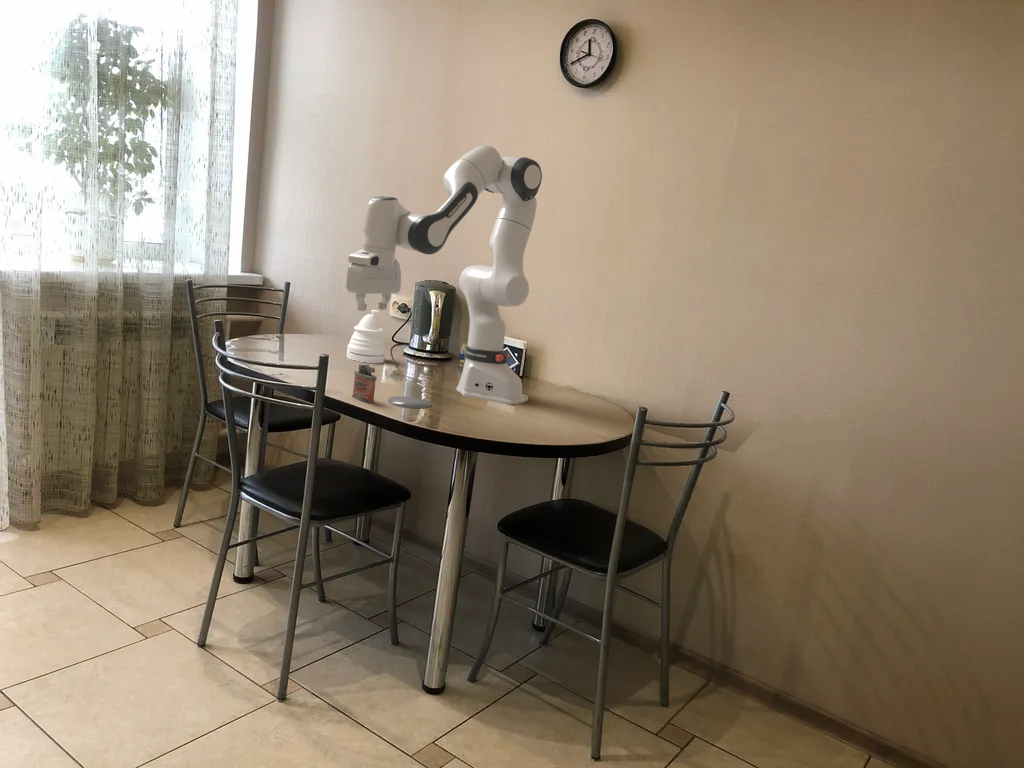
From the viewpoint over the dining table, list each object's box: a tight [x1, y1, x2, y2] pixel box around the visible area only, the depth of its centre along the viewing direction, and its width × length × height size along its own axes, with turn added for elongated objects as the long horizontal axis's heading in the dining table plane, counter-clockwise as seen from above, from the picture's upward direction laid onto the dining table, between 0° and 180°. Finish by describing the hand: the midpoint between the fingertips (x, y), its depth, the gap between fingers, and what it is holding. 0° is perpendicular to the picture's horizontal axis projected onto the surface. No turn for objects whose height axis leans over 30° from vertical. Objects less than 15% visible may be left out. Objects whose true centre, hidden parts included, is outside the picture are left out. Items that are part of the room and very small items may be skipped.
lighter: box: [351, 363, 378, 404], centre depth 217 cm, size 8×3×10 cm, turn 47°
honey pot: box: [346, 309, 386, 364], centre depth 272 cm, size 13×13×18 cm
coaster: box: [387, 395, 432, 410], centre depth 221 cm, size 12×12×1 cm
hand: (372, 309), depth 214 cm, fingers open, 8 cm apart
